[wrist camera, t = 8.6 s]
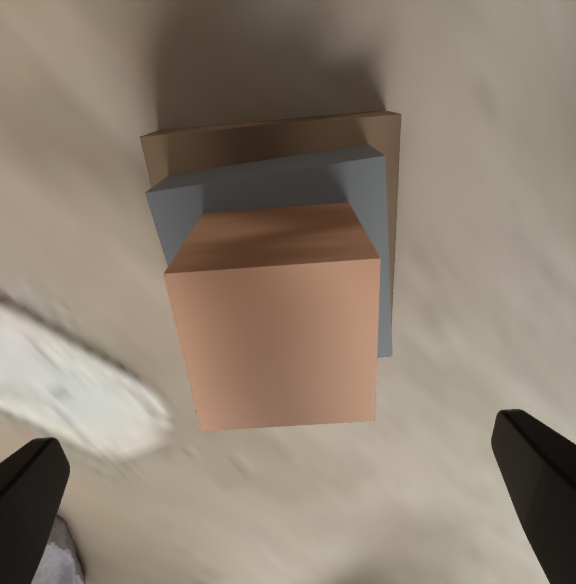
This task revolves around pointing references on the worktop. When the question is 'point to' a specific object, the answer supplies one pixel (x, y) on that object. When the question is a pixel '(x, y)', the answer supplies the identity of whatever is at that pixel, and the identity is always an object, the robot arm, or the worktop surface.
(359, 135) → the tower base block
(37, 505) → the robot arm
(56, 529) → the stone block
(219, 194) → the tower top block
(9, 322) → the worktop surface
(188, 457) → the worktop surface
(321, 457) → the worktop surface
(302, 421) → the terracotta cube
